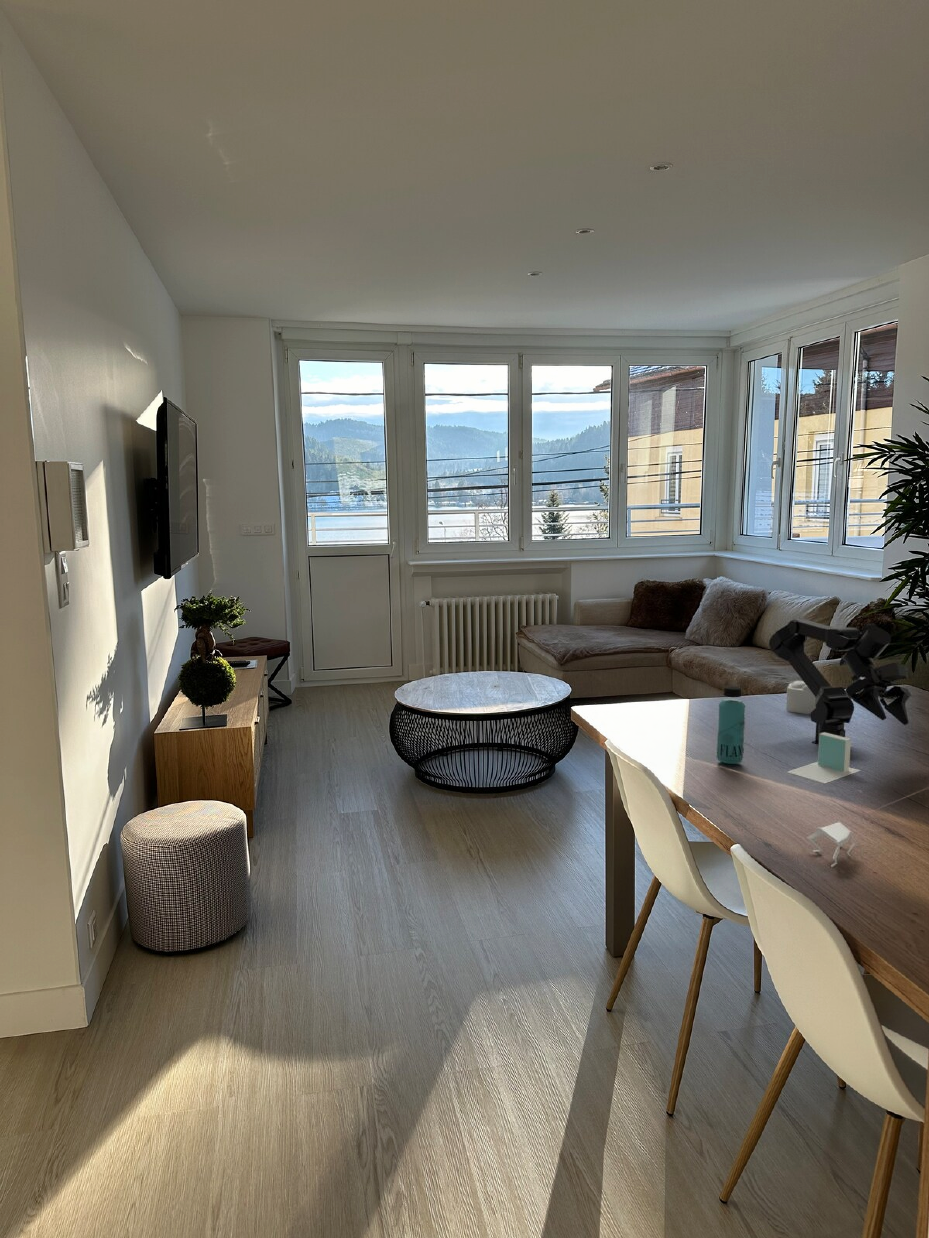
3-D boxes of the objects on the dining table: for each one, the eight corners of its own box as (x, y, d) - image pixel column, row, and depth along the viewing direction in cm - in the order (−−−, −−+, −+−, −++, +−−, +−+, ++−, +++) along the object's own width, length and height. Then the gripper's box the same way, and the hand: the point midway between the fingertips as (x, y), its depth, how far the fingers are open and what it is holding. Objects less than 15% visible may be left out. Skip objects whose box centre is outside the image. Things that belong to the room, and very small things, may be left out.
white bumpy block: (788, 703, 268) (789, 677, 267) (832, 708, 263) (834, 680, 261) (785, 711, 259) (786, 684, 258) (831, 716, 253) (832, 688, 252)
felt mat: (786, 773, 204) (786, 771, 203) (822, 761, 212) (822, 759, 212) (824, 784, 195) (824, 783, 195) (860, 772, 204) (860, 770, 204)
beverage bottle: (715, 768, 208) (717, 689, 205) (716, 759, 214) (719, 683, 211) (742, 770, 206) (746, 690, 203) (743, 762, 212) (747, 684, 209)
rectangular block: (817, 765, 208) (819, 733, 207) (822, 763, 209) (824, 732, 208) (843, 772, 202) (845, 740, 201) (849, 770, 204) (851, 738, 202)
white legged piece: (802, 842, 164) (803, 818, 164) (847, 845, 163) (849, 821, 162) (817, 870, 153) (819, 844, 152) (866, 873, 151) (868, 847, 151)
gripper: (867, 643, 202) (901, 697, 192) (911, 656, 211) (945, 708, 202) (831, 670, 208) (862, 723, 199) (876, 682, 218) (907, 733, 208)
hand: (895, 721), depth 202 cm, fingers open, 9 cm apart
